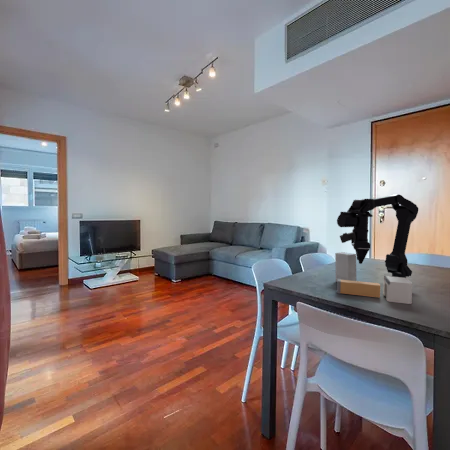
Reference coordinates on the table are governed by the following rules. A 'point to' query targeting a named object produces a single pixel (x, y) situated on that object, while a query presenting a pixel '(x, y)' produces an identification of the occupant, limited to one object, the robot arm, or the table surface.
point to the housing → (397, 289)
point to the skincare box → (345, 266)
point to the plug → (358, 288)
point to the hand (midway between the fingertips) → (359, 261)
